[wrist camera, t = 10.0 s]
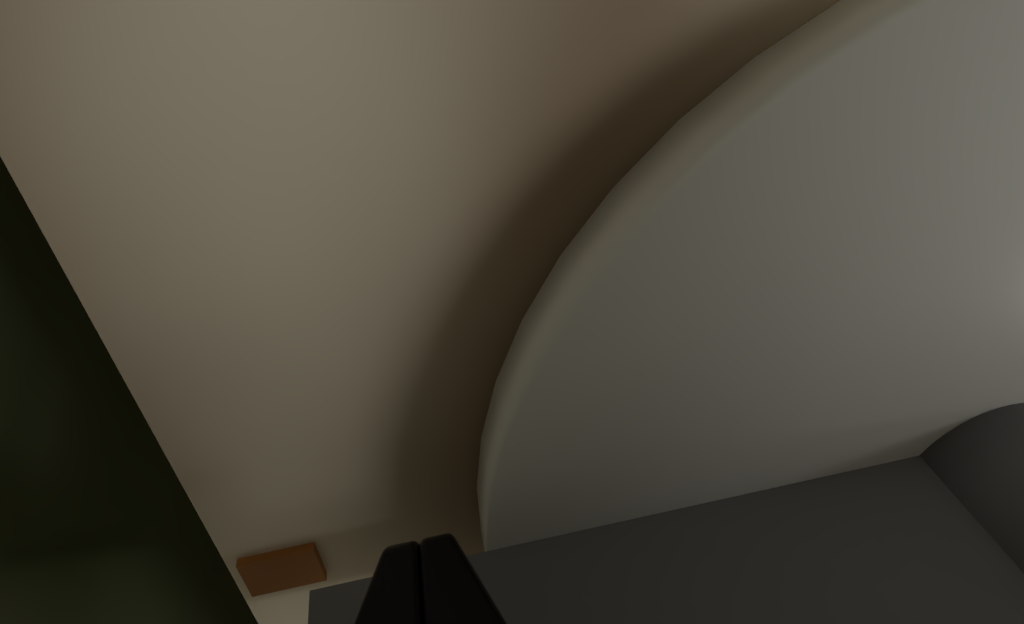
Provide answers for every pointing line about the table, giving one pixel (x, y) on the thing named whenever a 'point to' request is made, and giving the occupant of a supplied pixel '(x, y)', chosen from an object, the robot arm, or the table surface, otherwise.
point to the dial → (782, 352)
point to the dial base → (336, 229)
